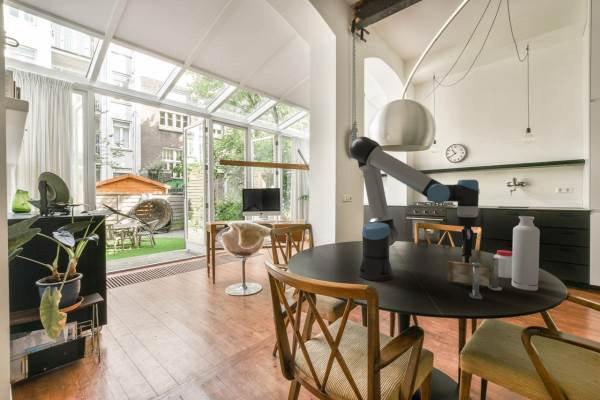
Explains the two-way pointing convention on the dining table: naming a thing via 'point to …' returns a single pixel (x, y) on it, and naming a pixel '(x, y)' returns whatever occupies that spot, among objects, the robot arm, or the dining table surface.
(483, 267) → the gate
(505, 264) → the pill bottle
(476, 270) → the latch post
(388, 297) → the dining table surface
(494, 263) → the hinge post
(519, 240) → the bottle
